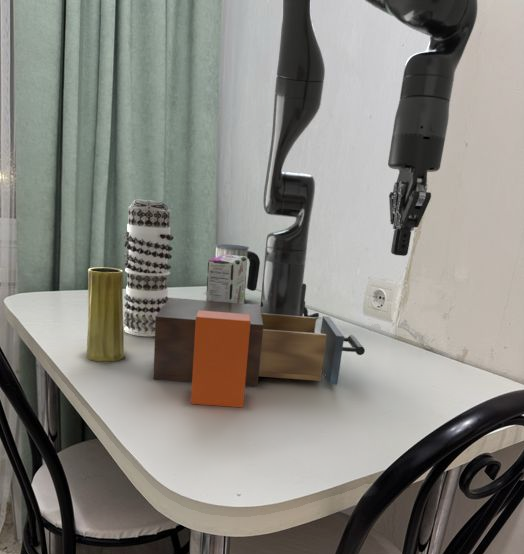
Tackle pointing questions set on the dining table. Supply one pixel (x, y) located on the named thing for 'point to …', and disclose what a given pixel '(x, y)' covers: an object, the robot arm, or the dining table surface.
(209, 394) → the orange rectangular prism
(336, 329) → the drawer
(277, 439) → the dining table surface
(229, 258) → the candy bar box
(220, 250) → the milk frother
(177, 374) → the cabinet
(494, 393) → the dining table surface
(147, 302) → the white patterned cylinder
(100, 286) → the vase
